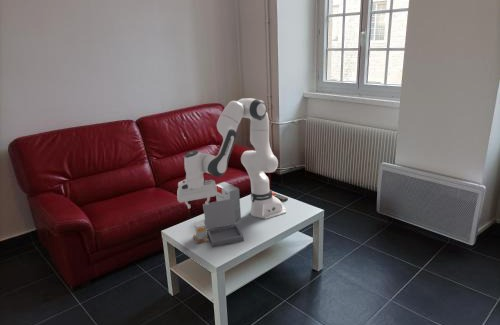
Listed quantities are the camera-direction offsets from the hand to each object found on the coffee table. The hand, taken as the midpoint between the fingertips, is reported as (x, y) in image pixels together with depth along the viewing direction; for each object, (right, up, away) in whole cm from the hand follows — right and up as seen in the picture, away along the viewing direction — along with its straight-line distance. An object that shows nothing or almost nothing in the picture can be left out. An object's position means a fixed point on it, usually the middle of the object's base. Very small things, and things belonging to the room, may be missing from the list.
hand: (198, 206), depth 192 cm
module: (+1, -18, +5) cm, 18 cm away
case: (+14, -18, +5) cm, 23 cm away
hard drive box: (+15, -10, +31) cm, 35 cm away
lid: (+10, -6, +12) cm, 17 cm away
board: (+1, -18, +6) cm, 19 cm away
